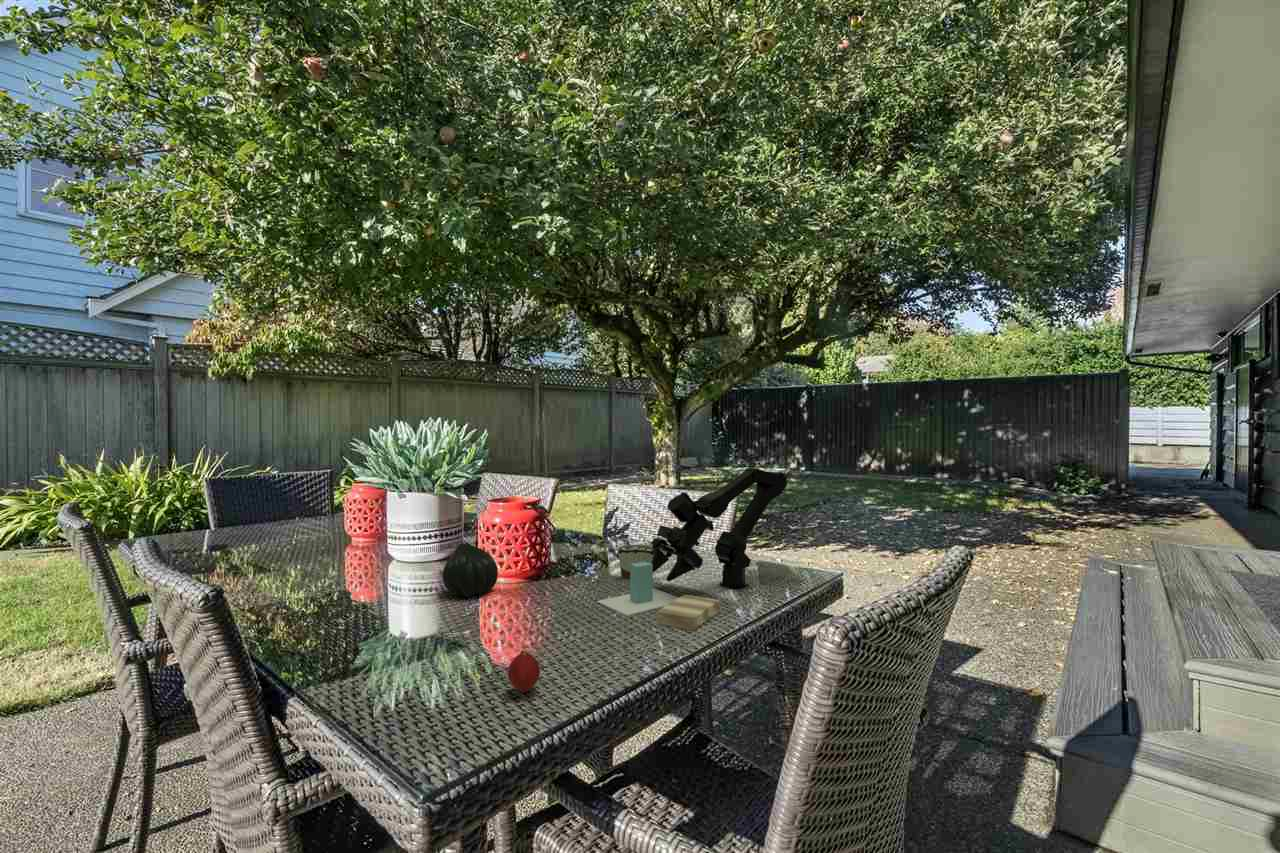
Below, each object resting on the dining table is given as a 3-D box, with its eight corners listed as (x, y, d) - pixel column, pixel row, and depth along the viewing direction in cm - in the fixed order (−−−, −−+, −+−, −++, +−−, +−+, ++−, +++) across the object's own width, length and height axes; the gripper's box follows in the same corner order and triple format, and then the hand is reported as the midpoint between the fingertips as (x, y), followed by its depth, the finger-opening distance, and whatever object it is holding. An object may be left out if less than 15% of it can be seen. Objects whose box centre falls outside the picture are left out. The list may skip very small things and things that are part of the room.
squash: (511, 576, 172) (491, 531, 179) (463, 588, 162) (443, 541, 168) (493, 600, 180) (474, 557, 187) (445, 614, 170) (427, 568, 176)
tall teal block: (645, 597, 169) (645, 561, 169) (652, 600, 166) (652, 564, 166) (630, 600, 166) (630, 564, 166) (636, 603, 163) (636, 566, 163)
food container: (657, 575, 193) (658, 544, 193) (656, 581, 187) (656, 548, 187) (619, 574, 194) (619, 543, 194) (616, 580, 188) (616, 547, 188)
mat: (653, 589, 178) (653, 588, 178) (686, 601, 167) (686, 600, 167) (596, 602, 166) (596, 601, 166) (627, 616, 155) (627, 614, 155)
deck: (684, 605, 163) (684, 594, 163) (719, 611, 159) (719, 600, 158) (656, 623, 149) (656, 611, 149) (694, 630, 145) (694, 618, 144)
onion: (510, 685, 115) (510, 643, 115) (541, 684, 116) (541, 642, 116) (506, 699, 110) (506, 655, 109) (538, 698, 110) (538, 654, 110)
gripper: (656, 510, 179) (623, 552, 174) (693, 519, 163) (658, 566, 158) (678, 533, 183) (647, 575, 178) (717, 545, 167) (684, 591, 162)
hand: (658, 576), depth 169 cm, fingers open, 9 cm apart
